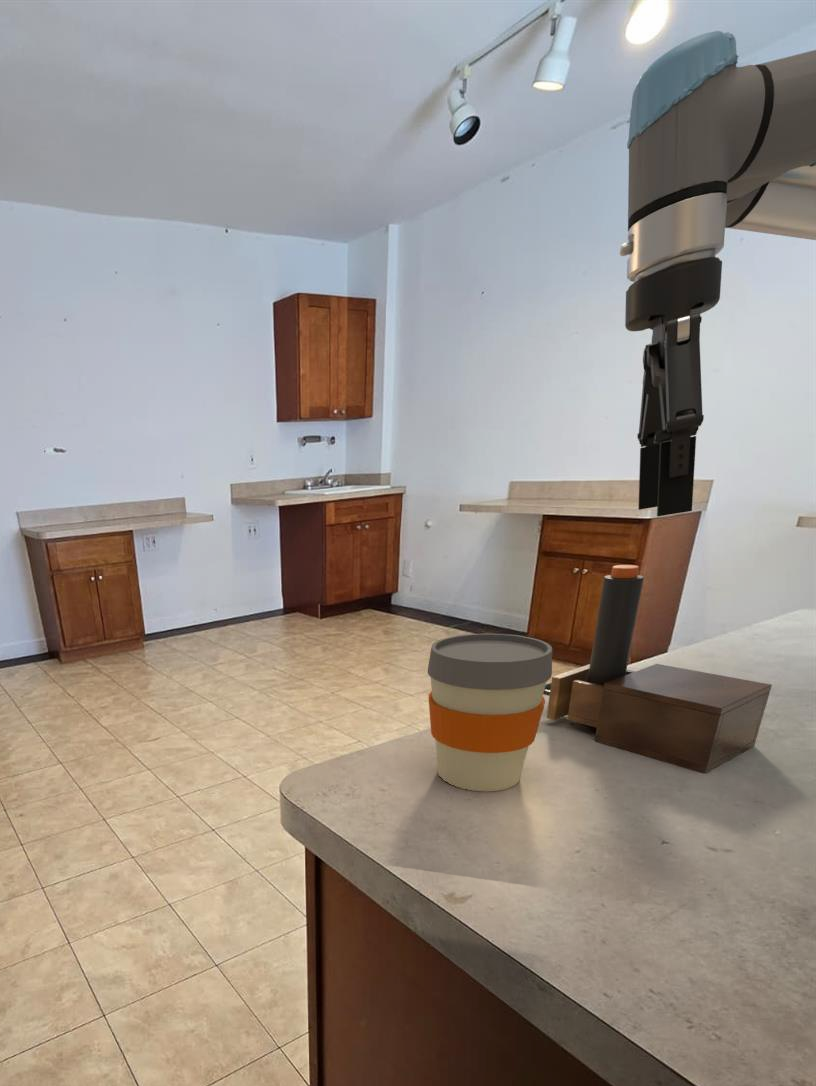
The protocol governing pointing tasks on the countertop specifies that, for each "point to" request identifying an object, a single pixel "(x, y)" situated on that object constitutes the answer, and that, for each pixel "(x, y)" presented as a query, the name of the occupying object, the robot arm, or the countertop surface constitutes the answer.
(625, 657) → the spray can
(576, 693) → the drawer
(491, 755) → the reusable coffee cup
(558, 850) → the countertop surface
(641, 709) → the cabinet
